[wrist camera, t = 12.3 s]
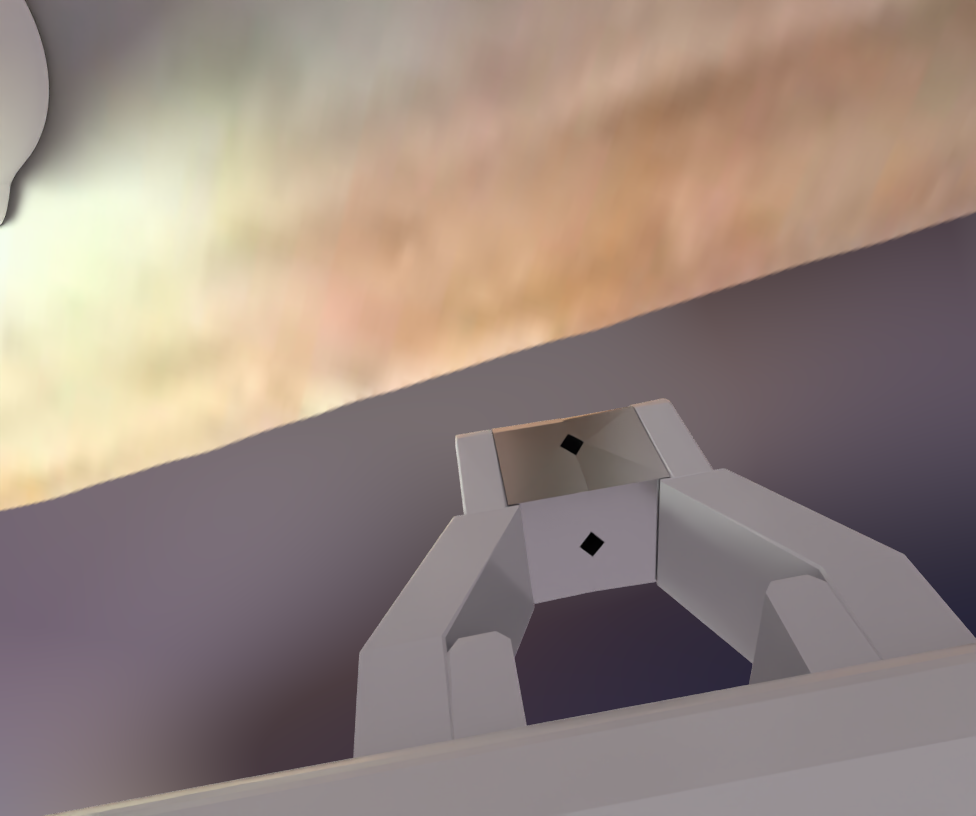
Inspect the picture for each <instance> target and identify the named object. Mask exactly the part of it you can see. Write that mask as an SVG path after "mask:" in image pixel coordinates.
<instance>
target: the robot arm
mask: <svg viewBox="0 0 976 816" xmlns="http://www.w3.org/2000/svg"><path fill="white" fill-rule="evenodd" d="M48 103H49V79H48V69H47V63H46V57H45V53H44V48H43V45H42V41H41V38H40V35H39V32H38V29H37V26H36V24H35V21H34V19H33V17H32V14H31V12H30V10H29V8H28V6H27V4H26V2H25V0H0V225H1V223H2V222H3V220H4V218H5V215H6V211H7V207H8V201H9V194H10V186H11V182H12V180H13V178H14V176H15V175H16V173H17V172H18V170H19V169H20V168H21V167H22V165H23V164H24V163H25V161H26V160H27V159H28V158H29V156H30V155H31V153H32V152H33V150H34V149H35V147H36V145H37V143H38V141H39V139H40V136H41V134H42V131H43V128H44V125H45V121H46V116H47V111H48ZM492 434H493V435H492ZM455 445H456V453H457V461H458V469H459V477H460V485H461V493H462V501H463V509H464V515H460V516H455V517H453V518H452V520H451V521H450V523H449V524H448V526H447V527H446V528H445V530H444V531H443V533H442V534H441V536H440V537H439V538H438V540H437V541H436V543H435V544H434V546H433V547H432V549H431V550H430V551H429V553H428V554H427V556H426V557H425V559H424V560H423V562H422V563H421V564H420V566H419V567H418V569H417V570H416V572H415V573H414V575H413V576H412V577H411V579H410V581H409V582H408V583H407V585H406V586H405V588H404V589H403V590H402V592H401V593H400V595H399V596H398V598H397V599H396V601H395V602H394V603H393V605H392V606H391V608H390V609H389V611H388V612H387V614H386V615H385V616H384V618H383V620H382V621H381V622H380V624H379V625H378V627H377V628H376V630H375V631H374V632H373V634H372V636H371V637H370V638H369V640H368V641H367V642H366V644H365V645H364V647H363V648H362V650H361V651H360V653H359V669H358V687H357V705H356V706H357V707H356V722H355V723H356V724H355V740H354V741H355V742H354V757H353V758H351V759H346V760H341V761H335V762H330V763H325V764H319V765H314V766H308V767H303V768H298V769H292V770H287V771H281V772H276V773H271V774H265V775H260V776H254V777H249V778H244V779H238V780H233V781H227V782H222V783H217V784H211V785H206V786H201V787H195V788H190V789H185V790H179V791H174V792H169V793H163V794H157V795H152V796H147V797H141V798H136V799H131V800H125V801H120V802H114V803H109V804H104V805H98V806H93V807H88V808H82V809H77V810H71V811H66V812H61V813H55V814H50V815H44V816H976V638H975V637H974V636H973V635H972V634H971V632H970V631H969V630H968V629H967V628H966V627H965V625H964V624H963V623H962V622H961V621H960V620H959V619H958V617H957V616H956V615H955V614H954V612H952V610H951V609H950V608H949V607H948V605H947V604H946V603H945V602H944V601H943V600H942V599H941V597H940V596H939V595H938V594H937V593H936V591H935V590H934V589H933V588H932V587H931V585H930V584H929V583H928V582H927V581H926V580H925V579H924V577H923V576H922V575H921V574H920V573H919V571H918V570H917V569H916V568H915V567H914V566H913V564H912V563H911V562H910V561H909V560H908V558H907V557H906V556H905V555H904V554H902V553H900V552H898V551H896V550H893V549H891V548H889V547H887V546H885V545H883V544H881V543H879V542H877V541H875V540H872V539H871V538H869V537H867V536H864V535H862V534H860V533H858V532H856V531H854V530H852V529H850V528H848V527H846V526H844V525H841V524H839V523H837V522H835V521H833V520H831V519H829V518H827V517H825V516H822V515H821V514H818V513H816V512H814V511H812V510H810V509H808V508H806V507H804V506H802V505H800V504H798V503H795V502H794V501H791V500H789V499H787V498H785V497H783V496H781V495H779V494H777V493H775V492H772V491H771V490H769V489H766V488H764V487H762V486H760V485H758V484H756V483H754V482H752V481H750V480H748V479H746V478H744V477H741V476H739V475H737V474H735V473H733V472H731V471H729V470H727V469H718V470H713V468H712V467H711V465H710V464H709V462H708V460H707V459H706V457H705V456H704V454H703V452H702V451H701V449H700V448H699V446H698V445H697V443H696V441H695V440H694V438H693V437H692V435H691V433H690V432H689V430H688V429H687V427H686V426H685V424H684V422H683V421H682V419H681V418H680V416H679V415H678V413H677V411H676V410H675V408H674V407H673V405H672V403H671V402H670V401H669V400H667V399H665V398H663V399H659V400H653V401H649V402H644V403H639V404H634V405H630V407H625V408H619V409H614V410H608V411H603V412H597V413H592V414H586V415H581V416H575V417H569V418H564V419H561V418H560V419H554V420H548V421H541V422H534V423H528V424H522V425H515V426H508V427H502V428H495V429H492V432H491V431H490V430H484V431H478V432H472V433H466V434H460V435H456V438H455ZM651 582H657V585H658V586H660V587H661V588H662V589H663V590H664V591H665V592H667V593H668V594H669V595H670V596H672V597H673V598H674V599H675V600H676V601H678V602H679V603H680V604H681V605H682V606H684V607H685V608H686V609H687V610H689V611H690V612H691V613H692V614H693V615H695V616H696V617H697V618H698V619H699V620H701V621H702V622H703V623H704V624H705V625H707V626H708V627H709V628H710V629H712V630H713V631H714V632H715V633H716V634H718V635H719V636H720V637H721V638H722V639H724V640H725V641H726V642H727V643H729V644H730V645H731V646H732V647H733V648H735V649H736V650H737V651H738V652H739V653H741V654H742V655H743V656H744V657H745V658H747V659H748V660H749V661H750V662H751V663H753V666H752V672H751V678H750V683H749V685H745V686H740V687H735V688H729V689H724V690H719V691H713V692H707V693H702V694H697V695H692V696H686V697H680V698H675V699H670V700H664V701H659V702H653V703H648V704H643V705H637V706H632V707H626V708H621V709H616V710H610V711H605V712H599V713H594V714H589V715H583V716H578V717H572V718H567V719H561V720H556V721H551V722H545V723H540V724H534V725H529V726H526V720H525V715H524V709H523V704H522V698H521V693H520V687H519V682H518V676H517V671H516V666H515V660H514V657H515V655H516V652H517V650H518V647H519V645H520V642H521V640H522V637H523V635H524V632H525V630H526V627H527V625H528V622H529V620H530V617H531V615H532V612H533V610H534V604H535V603H540V602H545V601H550V600H555V599H559V598H564V597H569V596H574V595H579V594H583V593H587V592H592V591H594V590H595V591H599V590H605V589H612V588H618V587H625V586H631V585H638V584H644V583H651Z"/></svg>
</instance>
